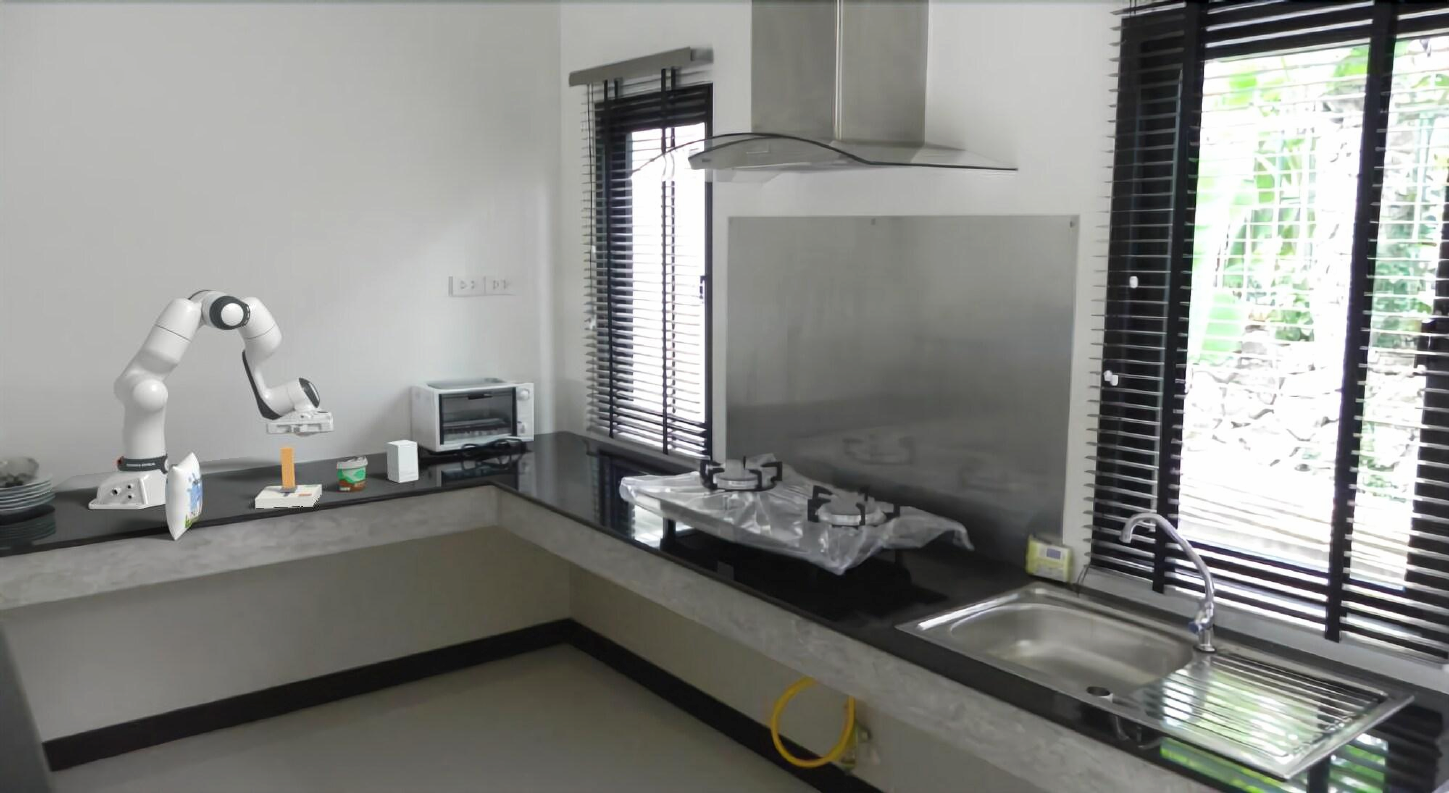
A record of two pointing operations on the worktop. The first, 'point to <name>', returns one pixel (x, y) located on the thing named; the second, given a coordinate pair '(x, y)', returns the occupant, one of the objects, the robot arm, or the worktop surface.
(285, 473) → the handle
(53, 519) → the worktop surface
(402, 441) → the supplement box
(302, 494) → the white flat block
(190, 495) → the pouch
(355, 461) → the food container
